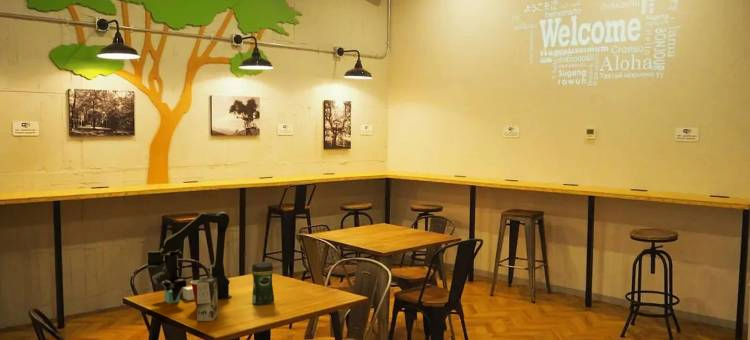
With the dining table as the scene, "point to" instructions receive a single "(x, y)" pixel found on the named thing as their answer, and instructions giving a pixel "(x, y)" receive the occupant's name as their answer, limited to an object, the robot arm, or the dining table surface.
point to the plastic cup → (195, 289)
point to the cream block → (188, 293)
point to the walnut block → (182, 291)
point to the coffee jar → (262, 283)
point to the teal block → (170, 297)
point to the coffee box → (207, 299)
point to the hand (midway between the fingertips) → (172, 299)
